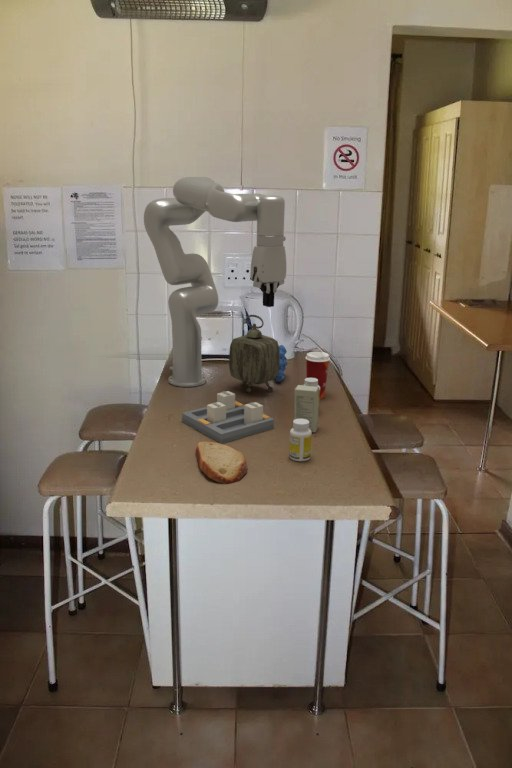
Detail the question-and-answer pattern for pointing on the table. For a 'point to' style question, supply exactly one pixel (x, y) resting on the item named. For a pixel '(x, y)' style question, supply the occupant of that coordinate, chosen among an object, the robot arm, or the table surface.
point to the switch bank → (226, 424)
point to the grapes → (281, 363)
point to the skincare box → (307, 405)
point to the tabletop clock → (254, 357)
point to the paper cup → (318, 369)
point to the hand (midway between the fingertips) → (268, 305)
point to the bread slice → (221, 462)
